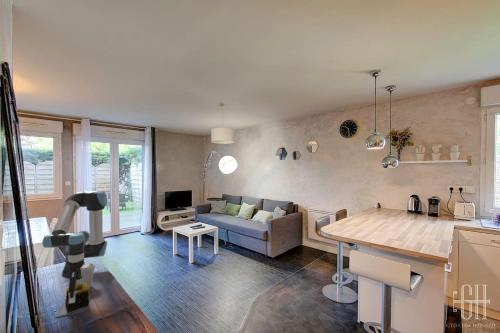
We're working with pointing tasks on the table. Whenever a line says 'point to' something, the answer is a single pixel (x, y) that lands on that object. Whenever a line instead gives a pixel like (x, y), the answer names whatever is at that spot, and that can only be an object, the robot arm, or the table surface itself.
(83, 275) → the coffee cup
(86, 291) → the candle
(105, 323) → the table surface
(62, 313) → the coaster
